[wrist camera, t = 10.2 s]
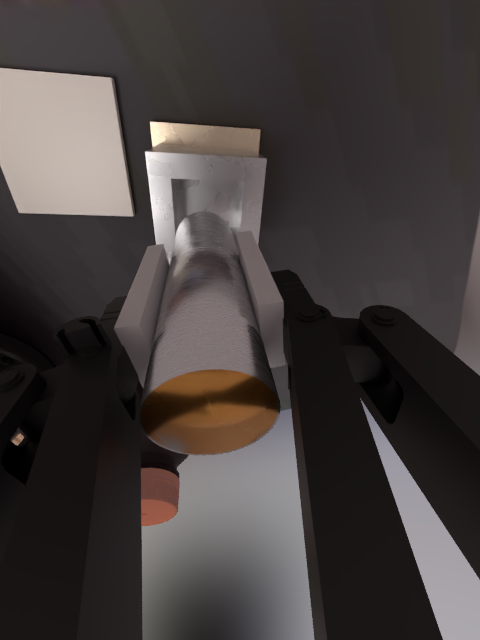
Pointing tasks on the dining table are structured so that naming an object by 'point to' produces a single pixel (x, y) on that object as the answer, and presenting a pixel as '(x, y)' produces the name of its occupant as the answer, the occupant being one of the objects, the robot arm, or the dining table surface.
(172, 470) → the bottle
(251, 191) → the grey box
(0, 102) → the pad
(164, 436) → the metal cylinder
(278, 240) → the dining table surface
